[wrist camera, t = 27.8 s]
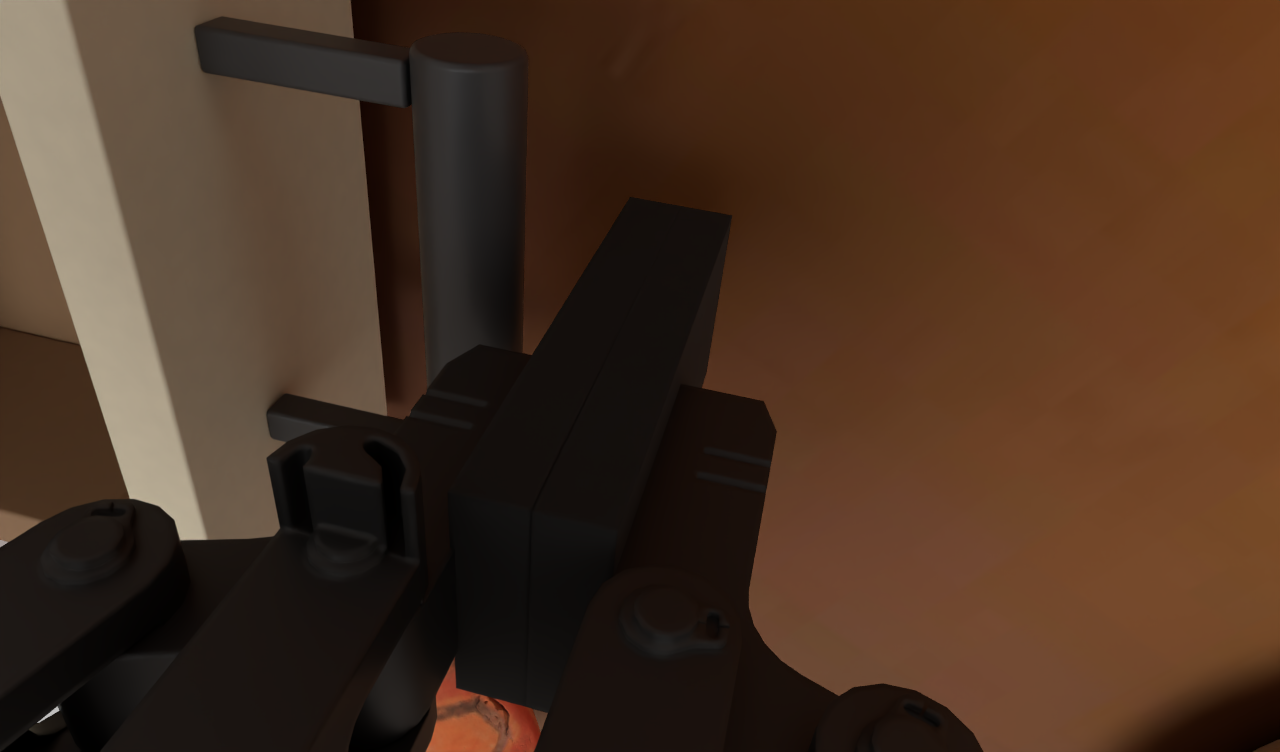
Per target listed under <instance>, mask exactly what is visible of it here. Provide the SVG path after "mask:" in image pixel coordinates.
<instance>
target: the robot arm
mask: <svg viewBox="0 0 1280 752" xmlns="http://www.w3.org/2000/svg"><path fill="white" fill-rule="evenodd" d="M731 219H732V215H727V214H721V213H716V212H710V211H705V210H699V209H694V208H688V207H683V206H677V205H672V204H666V203H661V202H656V201H650V200H645V199H639V198H634V197H630V198H629V200H628V201H627V203H626V204H625V206H624V208H623V209H622V211H621V212H620V214H619V216H618V217H617V219H616V220H615V222H614V224H613V225H612V227H611V229H610V230H609V232H608V233H607V235H606V237H605V238H604V240H603V241H602V243H601V245H600V246H599V248H598V250H597V251H596V253H595V254H594V256H593V258H592V259H591V261H590V262H589V264H588V266H587V267H586V269H585V270H584V272H583V274H582V275H581V277H580V279H579V280H578V282H577V283H576V285H575V287H574V288H573V290H572V291H571V293H570V295H569V296H568V298H567V300H566V301H565V303H564V304H563V306H562V308H561V309H560V311H559V312H558V314H557V316H556V317H555V319H554V321H553V322H552V324H551V325H550V327H549V329H548V330H547V332H546V333H545V335H544V337H543V338H542V340H541V341H540V343H539V345H538V346H537V348H536V350H535V351H534V353H533V354H532V355H528V354H523V353H519V352H514V351H509V350H504V349H500V348H495V347H490V346H485V345H481V344H479V345H477V346H475V347H474V348H472V349H470V350H469V351H467V352H465V353H463V354H462V355H460V356H458V357H457V358H455V359H453V360H451V361H450V362H448V363H446V365H445V366H444V367H443V369H442V370H441V371H440V373H439V374H438V375H437V377H436V378H435V379H434V380H433V382H432V383H431V384H430V386H429V387H428V388H427V392H426V395H422V396H421V398H420V399H419V400H418V402H417V403H416V404H415V406H414V407H413V408H412V410H411V413H410V416H409V417H408V416H406V418H405V419H404V420H403V421H402V423H401V424H400V425H399V427H398V428H397V429H396V431H395V432H394V433H393V434H391V433H388V432H386V431H383V430H381V429H378V428H373V427H362V426H351V425H344V426H337V427H331V428H324V429H317V430H314V431H312V432H309V433H307V434H304V435H302V436H299V437H297V438H294V439H292V440H289V441H287V442H286V443H285V444H283V445H282V446H281V447H280V448H278V449H277V450H276V451H274V452H273V453H272V454H270V455H269V456H268V457H267V458H266V459H267V464H268V469H269V474H270V479H271V484H272V490H273V495H274V500H275V505H276V510H277V515H278V520H279V525H280V529H279V530H278V531H277V533H276V534H275V535H274V536H271V537H261V538H251V539H215V540H180V538H179V534H178V531H177V527H176V524H175V520H174V519H173V518H172V517H171V516H169V515H168V514H167V513H166V512H165V511H164V510H163V509H162V508H161V507H159V506H157V505H154V504H150V503H147V502H143V501H140V500H136V499H103V500H99V501H95V502H91V503H87V504H83V505H79V506H75V507H71V508H69V509H67V510H65V511H62V512H60V513H58V514H56V515H54V516H52V517H50V518H48V519H46V520H44V521H42V522H40V523H38V524H37V525H35V526H34V527H32V528H30V529H29V530H27V531H26V532H24V533H22V534H21V535H19V536H18V537H16V538H15V539H13V540H11V541H10V542H8V543H7V544H5V545H3V546H2V547H0V752H426V750H427V748H428V746H429V744H430V742H431V739H432V736H433V732H434V728H435V724H436V720H437V705H436V694H437V692H438V690H439V688H440V686H441V684H442V682H443V680H444V678H445V676H446V674H447V672H448V670H449V668H450V666H451V664H452V662H453V660H454V658H455V676H456V688H457V689H461V690H465V691H468V692H472V693H476V694H480V695H483V696H487V697H491V698H495V699H498V700H502V701H506V702H510V703H513V704H517V705H521V706H524V707H528V708H532V709H536V710H539V711H543V712H547V713H548V715H547V718H546V720H545V723H544V726H543V729H542V731H541V734H540V737H539V739H538V742H537V745H536V747H535V750H534V752H983V750H982V748H981V747H980V745H979V743H978V741H977V739H976V737H975V736H974V734H973V733H972V732H971V731H970V730H969V729H968V728H967V727H966V726H965V725H964V724H963V723H962V722H961V721H960V720H959V719H958V718H957V717H956V716H955V715H954V714H953V713H952V712H951V711H950V710H949V709H948V708H947V707H945V706H943V705H941V704H939V703H937V702H936V701H934V700H932V699H930V698H928V697H926V696H925V695H923V694H921V693H919V692H917V691H915V690H911V689H906V688H901V687H897V686H892V685H888V684H876V685H868V686H860V687H853V688H852V689H850V690H848V691H847V692H845V693H843V694H842V695H840V696H838V695H836V694H834V693H832V692H831V691H829V690H827V689H825V688H824V687H822V686H820V685H818V684H817V683H815V682H813V681H811V680H810V679H808V678H806V677H804V676H802V675H801V674H799V673H798V672H797V671H795V670H794V669H792V668H791V667H789V666H788V665H787V664H785V663H784V662H782V661H781V660H780V659H779V658H778V657H777V656H776V655H775V654H774V653H773V652H772V651H771V650H770V649H769V647H768V646H767V645H766V644H765V643H764V641H763V640H762V638H761V636H760V635H759V633H758V631H757V630H756V628H755V626H754V624H753V620H752V617H751V614H750V610H749V586H750V580H751V574H752V569H753V563H754V557H755V552H756V546H757V540H758V535H759V529H760V523H761V517H762V512H763V506H764V500H765V495H766V489H767V483H768V478H769V472H770V466H771V461H772V455H773V449H774V444H775V438H776V432H777V431H776V429H775V426H774V424H773V422H772V419H771V417H770V415H769V412H768V410H767V408H766V405H765V403H764V401H760V400H755V399H750V398H746V397H741V396H736V395H731V394H727V393H722V392H717V391H712V390H708V389H703V388H702V385H703V382H704V378H705V375H706V372H707V366H708V360H709V354H710V348H711V341H712V335H713V329H714V323H715V317H716V311H717V305H718V299H719V293H720V286H721V280H722V274H723V268H724V262H725V256H726V250H727V244H728V238H729V231H730V225H731ZM57 706H58V708H59V711H58V712H57V713H55V714H53V715H52V716H50V717H48V718H46V719H45V720H43V721H41V722H40V723H37V722H38V721H40V720H41V719H42V718H43V717H45V716H46V715H47V714H48V713H50V712H51V711H52V710H53V709H54V708H56V707H57Z"/></svg>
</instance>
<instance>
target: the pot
mask: <svg viewBox="0 0 1280 752" xmlns="http://www.w3.org/2000/svg"><path fill="white" fill-rule="evenodd" d="M436 705H437V720H436V724H435V728H434V732H433V736H432V739H431V742H430V744H429V746H428V748H427V750H426V752H534V750H535V747H536V745H537V742H538V739H539V737H540V734H541V733H540V729H539V726H538V723H537V720H536V717H535V715H534V712H533V709H532V708H528V707H524V706H521V705H517V704H513V703H510V702H506V701H502V700H498V699H495V698H491V697H487V696H483V695H480V694H476V693H472V692H468V691H465V690H461V689H457V688H456V676H455V658H454V660H453V662H452V664H451V666H450V668H449V670H448V672H447V674H446V676H445V678H444V680H443V682H442V684H441V686H440V688H439V690H438V692H437V694H436Z"/></svg>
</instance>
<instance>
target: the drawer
mask: <svg viewBox="0 0 1280 752" xmlns="http://www.w3.org/2000/svg"><path fill="white" fill-rule="evenodd" d="M359 100H360V101H366V102H372V103H377V104H383V105H388V106H394V107H400V108H407V107H409V106H410V105H412V118H413V136H414V154H415V172H416V191H417V209H418V227H419V245H420V264H421V282H422V300H423V318H424V337H425V355H426V373H427V388H428V387H429V386H430V384H431V383H432V382H433V380H434V379H435V378H436V377H437V375H438V374H439V373H440V371H441V370H442V369H443V367H444V366H445V365H446V363H448V362H450V361H451V360H453V359H455V358H457V357H458V356H460V355H462V354H463V353H465V352H467V351H469V350H470V349H472V348H474V347H475V346H477V345H479V344H481V345H485V346H490V347H495V348H500V349H504V350H509V351H514V352H519V353H522V347H523V299H524V251H525V203H526V155H527V107H528V55H527V53H526V50H525V49H524V48H523V47H522V46H521V45H519V44H517V43H515V42H512V41H510V40H507V39H504V38H501V37H497V36H492V35H486V34H478V33H442V34H436V35H431V36H427V37H424V38H421V39H419V40H416V41H415V42H414V43H413V44H412V45H411V48H408V47H402V46H396V45H390V44H384V43H378V42H372V41H366V40H360V39H354V33H353V22H352V11H351V0H0V540H3V541H7V542H10V541H11V540H13V539H15V538H16V537H18V536H19V535H21V534H22V533H24V532H26V531H27V530H29V529H30V528H32V527H34V526H35V525H37V524H38V523H40V522H42V521H44V520H46V519H48V518H50V517H52V516H54V515H56V514H58V513H60V512H62V511H65V510H67V509H69V508H71V507H75V506H79V505H83V504H87V503H91V502H95V501H99V500H103V499H136V500H140V501H143V502H147V503H150V504H154V505H157V506H159V507H161V508H162V509H163V510H164V511H165V512H166V513H167V514H168V515H169V516H171V517H172V518H173V519H174V520H175V524H176V527H177V531H178V534H179V538H180V540H215V539H251V538H261V537H271V536H274V535H275V534H276V533H277V531H278V530H279V529H280V525H279V520H278V515H277V510H276V505H275V500H274V495H273V490H272V484H271V479H270V474H269V469H268V464H267V459H266V458H267V457H268V456H269V455H270V454H272V453H273V452H274V451H276V450H277V449H278V448H280V447H281V446H282V445H283V444H285V443H286V442H287V441H289V440H292V439H294V438H297V437H299V436H302V435H304V434H307V433H309V432H312V431H314V430H317V429H324V428H331V427H337V426H344V425H351V426H362V427H373V428H378V429H381V430H383V431H386V432H388V433H391V434H393V433H394V432H395V431H396V429H397V428H398V427H399V425H400V424H401V423H402V421H403V420H402V419H398V418H393V417H389V416H387V405H386V394H385V383H384V371H383V360H382V349H381V338H380V326H379V315H378V304H377V293H376V281H375V270H374V259H373V247H372V236H371V225H370V214H369V202H368V191H367V180H366V169H365V157H364V146H363V135H362V123H361V112H360V101H359Z"/></svg>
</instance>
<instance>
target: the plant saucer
mask: <svg viewBox="0 0 1280 752" xmlns="http://www.w3.org/2000/svg"><path fill="white" fill-rule="evenodd" d="M1253 752H1280V739H1279V740H1276V741H1274V742H1272V743H1270V744H1267V745H1265V746H1263V747H1260V748H1258V749H1256V750H1255V751H1253Z"/></svg>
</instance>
